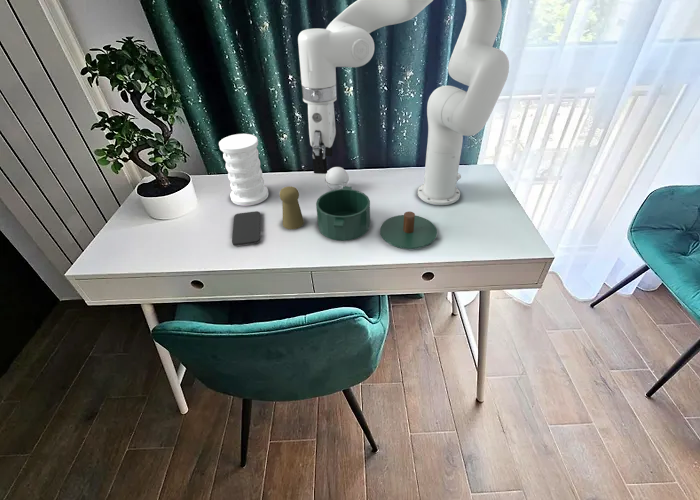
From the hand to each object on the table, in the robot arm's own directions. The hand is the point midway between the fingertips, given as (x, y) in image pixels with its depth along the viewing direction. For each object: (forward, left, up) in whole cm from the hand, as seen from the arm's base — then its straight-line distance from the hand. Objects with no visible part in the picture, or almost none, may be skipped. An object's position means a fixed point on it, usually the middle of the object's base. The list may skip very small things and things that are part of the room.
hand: (323, 164), depth 99 cm
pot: (-3, +3, -19) cm, 19 cm away
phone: (+15, -17, -19) cm, 29 cm away
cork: (+5, -9, -19) cm, 22 cm away
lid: (-11, +19, -18) cm, 29 cm away
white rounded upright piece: (-16, -11, -19) cm, 27 cm away
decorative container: (+3, -31, -19) cm, 37 cm away
